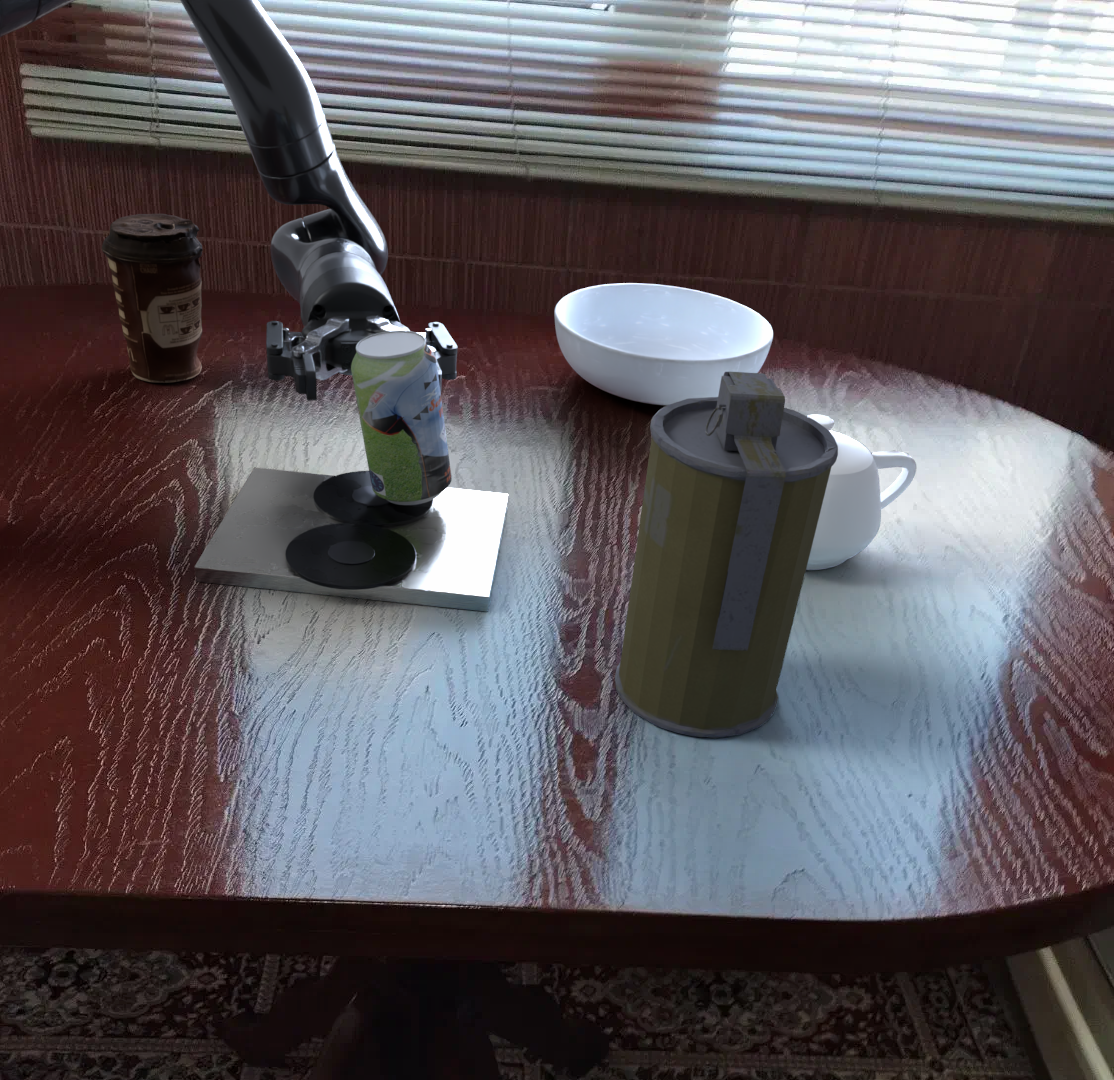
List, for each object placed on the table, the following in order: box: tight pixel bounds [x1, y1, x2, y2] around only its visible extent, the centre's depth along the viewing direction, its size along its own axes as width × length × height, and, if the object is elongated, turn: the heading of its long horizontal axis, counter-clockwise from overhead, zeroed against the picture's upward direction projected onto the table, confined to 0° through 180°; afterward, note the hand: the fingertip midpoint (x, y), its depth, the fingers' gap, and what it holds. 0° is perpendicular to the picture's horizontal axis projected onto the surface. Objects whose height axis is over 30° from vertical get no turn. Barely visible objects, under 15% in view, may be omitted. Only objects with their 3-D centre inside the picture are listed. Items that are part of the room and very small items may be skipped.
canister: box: [614, 372, 838, 739], centre depth 71 cm, size 11×10×20 cm
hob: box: [194, 467, 510, 613], centre depth 88 cm, size 20×18×2 cm
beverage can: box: [351, 330, 452, 505], centre depth 88 cm, size 6×7×12 cm
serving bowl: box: [554, 282, 774, 406], centre depth 116 cm, size 21×21×7 cm
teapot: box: [806, 413, 917, 571], centre depth 91 cm, size 20×12×10 cm, turn 108°
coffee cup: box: [101, 213, 204, 384], centre depth 107 cm, size 9×8×13 cm
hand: (371, 387), depth 87 cm, fingers open, 8 cm apart
